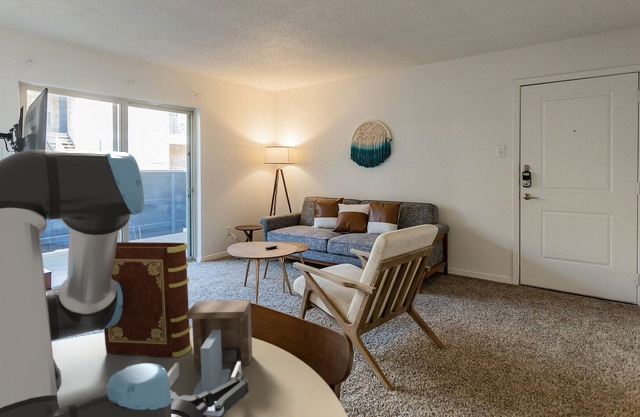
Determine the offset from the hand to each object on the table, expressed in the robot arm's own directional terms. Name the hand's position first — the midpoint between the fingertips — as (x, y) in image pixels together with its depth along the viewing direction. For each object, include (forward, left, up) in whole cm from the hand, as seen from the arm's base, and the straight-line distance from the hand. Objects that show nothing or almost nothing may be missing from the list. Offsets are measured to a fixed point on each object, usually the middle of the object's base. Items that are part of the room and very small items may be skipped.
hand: (208, 367), depth 83 cm
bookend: (-1, +5, -6) cm, 8 cm away
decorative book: (-23, +23, -7) cm, 33 cm away
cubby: (-1, +14, -6) cm, 15 cm away
